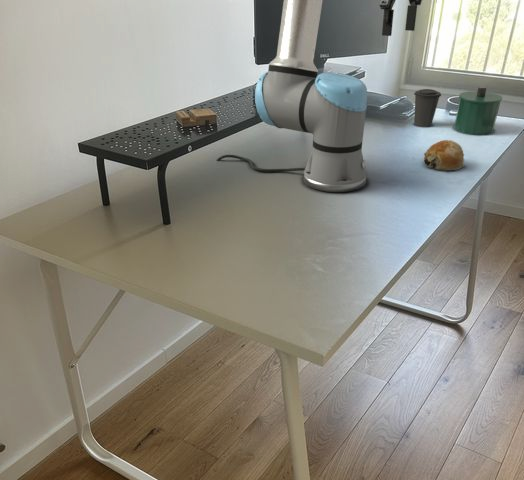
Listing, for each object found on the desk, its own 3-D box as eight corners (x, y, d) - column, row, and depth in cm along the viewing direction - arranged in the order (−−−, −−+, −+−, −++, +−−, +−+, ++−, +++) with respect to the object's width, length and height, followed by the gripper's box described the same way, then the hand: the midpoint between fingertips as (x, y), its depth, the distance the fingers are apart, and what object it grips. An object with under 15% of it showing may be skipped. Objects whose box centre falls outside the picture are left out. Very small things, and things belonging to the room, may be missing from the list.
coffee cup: (404, 122, 177) (409, 88, 170) (427, 119, 178) (433, 86, 172) (417, 129, 170) (423, 94, 164) (441, 126, 172) (447, 92, 166)
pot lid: (453, 102, 163) (455, 88, 161) (465, 93, 172) (467, 80, 169) (495, 107, 158) (498, 94, 156) (505, 98, 166) (509, 85, 164)
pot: (449, 131, 169) (455, 99, 163) (460, 122, 176) (466, 91, 171) (487, 137, 164) (495, 104, 158) (497, 127, 171) (504, 96, 166)
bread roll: (457, 185, 143) (477, 157, 139) (424, 168, 141) (443, 139, 136) (447, 171, 151) (466, 145, 147) (416, 155, 149) (434, 127, 144)
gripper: (417, -56, 163) (407, 27, 176) (371, -54, 148) (365, 37, 161) (440, -56, 159) (429, 29, 172) (396, -55, 144) (387, 38, 157)
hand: (398, 33), depth 166 cm, fingers open, 13 cm apart
